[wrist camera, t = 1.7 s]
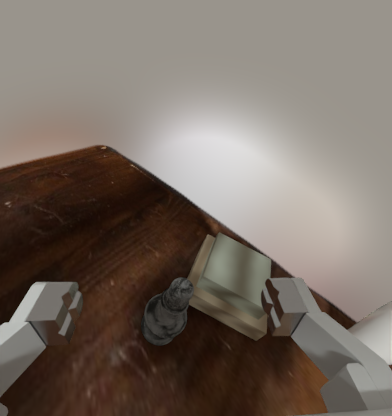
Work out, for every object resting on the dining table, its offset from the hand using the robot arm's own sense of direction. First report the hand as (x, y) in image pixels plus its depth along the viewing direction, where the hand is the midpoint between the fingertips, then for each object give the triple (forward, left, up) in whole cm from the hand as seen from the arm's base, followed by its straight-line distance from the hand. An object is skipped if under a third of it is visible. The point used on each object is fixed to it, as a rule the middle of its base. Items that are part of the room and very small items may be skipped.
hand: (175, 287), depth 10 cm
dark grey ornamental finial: (+2, +10, -25) cm, 26 cm away
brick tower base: (+10, +22, -24) cm, 34 cm away
